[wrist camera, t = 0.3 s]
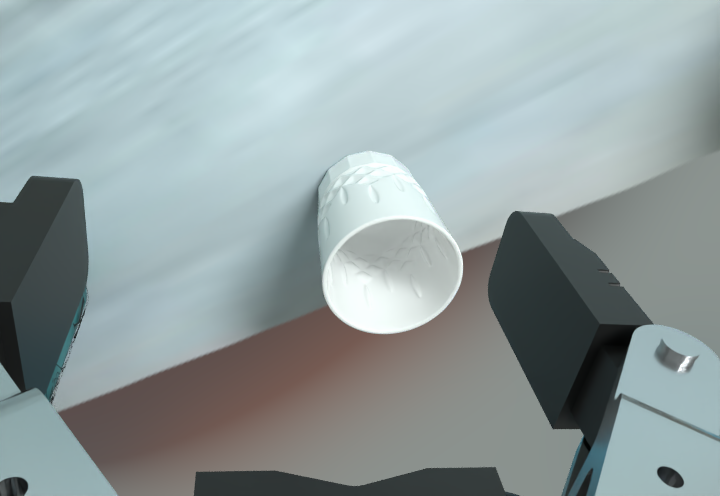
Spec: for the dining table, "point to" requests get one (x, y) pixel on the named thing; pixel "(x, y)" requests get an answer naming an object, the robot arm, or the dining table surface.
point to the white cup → (383, 246)
